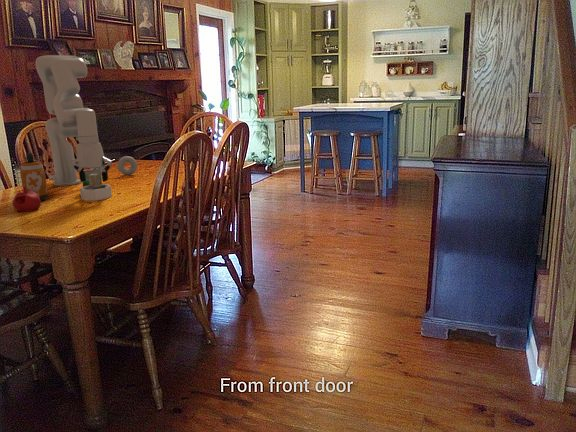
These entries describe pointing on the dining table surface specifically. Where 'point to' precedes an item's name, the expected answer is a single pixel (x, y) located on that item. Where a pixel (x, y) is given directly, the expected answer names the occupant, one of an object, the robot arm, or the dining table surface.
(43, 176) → the canister
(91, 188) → the hollow square tube
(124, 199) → the dining table surface
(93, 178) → the grey rectangular block
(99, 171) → the food container
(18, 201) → the pomegranate
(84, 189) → the white octagonal tray
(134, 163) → the donut
